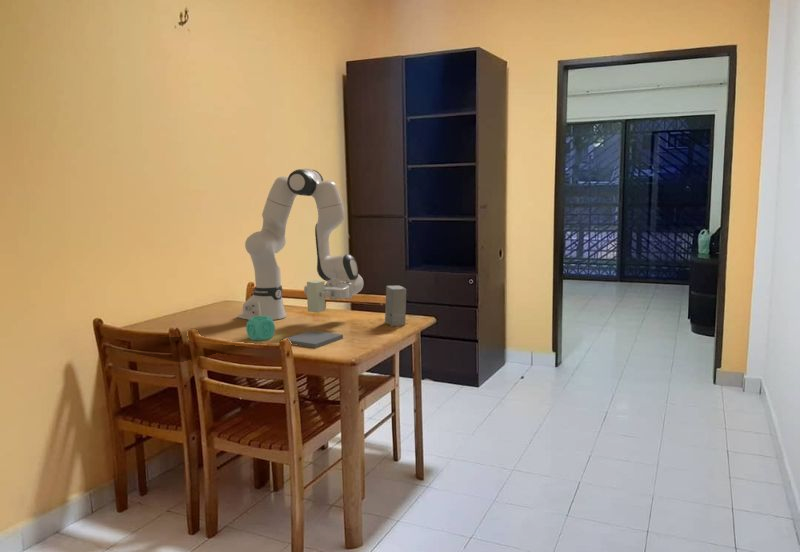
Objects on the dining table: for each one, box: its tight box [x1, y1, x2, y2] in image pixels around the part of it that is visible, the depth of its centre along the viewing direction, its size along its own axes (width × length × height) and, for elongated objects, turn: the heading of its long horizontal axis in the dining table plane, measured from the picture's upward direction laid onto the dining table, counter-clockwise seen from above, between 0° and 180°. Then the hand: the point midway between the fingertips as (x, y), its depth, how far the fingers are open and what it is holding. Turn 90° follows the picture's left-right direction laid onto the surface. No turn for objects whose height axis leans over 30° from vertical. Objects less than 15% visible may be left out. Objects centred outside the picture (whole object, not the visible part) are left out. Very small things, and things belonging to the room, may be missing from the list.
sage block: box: [306, 279, 326, 313], centre depth 247 cm, size 5×5×12 cm
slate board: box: [287, 329, 344, 349], centre depth 231 cm, size 16×16×2 cm
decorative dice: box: [245, 316, 276, 342], centre depth 236 cm, size 8×8×8 cm
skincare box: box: [384, 285, 407, 327], centre depth 255 cm, size 8×7×16 cm
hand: (314, 294), depth 246 cm, fingers closed on sage block, 5 cm apart
